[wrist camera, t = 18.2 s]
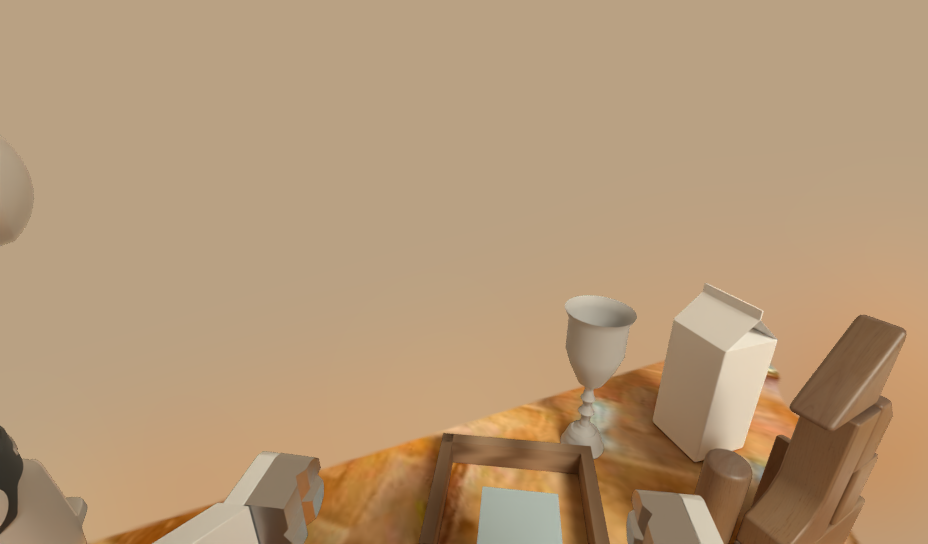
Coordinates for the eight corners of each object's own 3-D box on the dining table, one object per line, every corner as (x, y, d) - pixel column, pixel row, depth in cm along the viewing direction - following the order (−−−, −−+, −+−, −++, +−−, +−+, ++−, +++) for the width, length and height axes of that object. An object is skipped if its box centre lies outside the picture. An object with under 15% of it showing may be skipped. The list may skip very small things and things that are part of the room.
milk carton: (694, 464, 49) (735, 316, 41) (651, 422, 55) (679, 287, 48) (742, 449, 51) (789, 305, 44) (695, 410, 57) (729, 278, 50)
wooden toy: (767, 493, 45) (848, 275, 36) (842, 548, 40) (962, 308, 30) (667, 563, 39) (734, 318, 29) (741, 641, 33) (854, 370, 24)
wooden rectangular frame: (420, 565, 39) (418, 542, 37) (444, 453, 50) (443, 433, 49) (609, 588, 37) (613, 565, 36) (587, 466, 49) (590, 446, 47)
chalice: (624, 444, 52) (648, 311, 45) (594, 477, 47) (617, 335, 40) (571, 414, 56) (585, 289, 49) (540, 441, 52) (551, 309, 45)
